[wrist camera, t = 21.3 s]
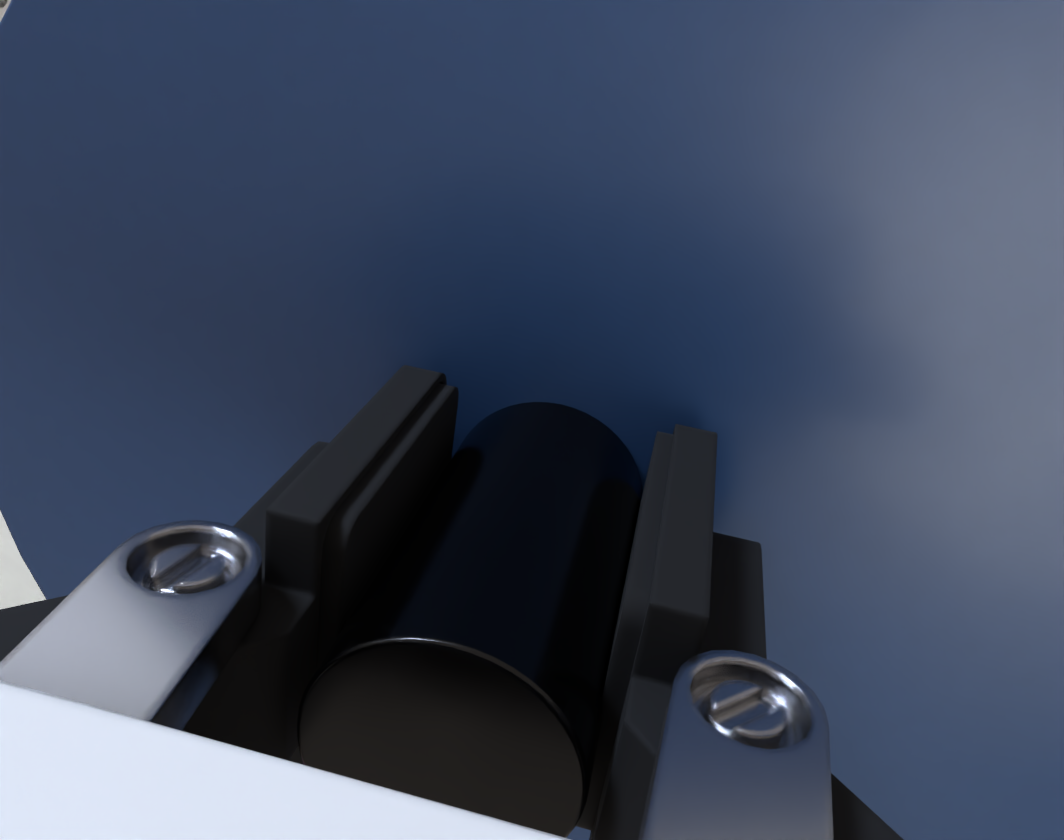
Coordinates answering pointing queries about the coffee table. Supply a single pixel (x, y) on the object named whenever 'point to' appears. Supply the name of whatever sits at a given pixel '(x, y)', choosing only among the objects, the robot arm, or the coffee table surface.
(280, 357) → the lid
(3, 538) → the coffee table surface
